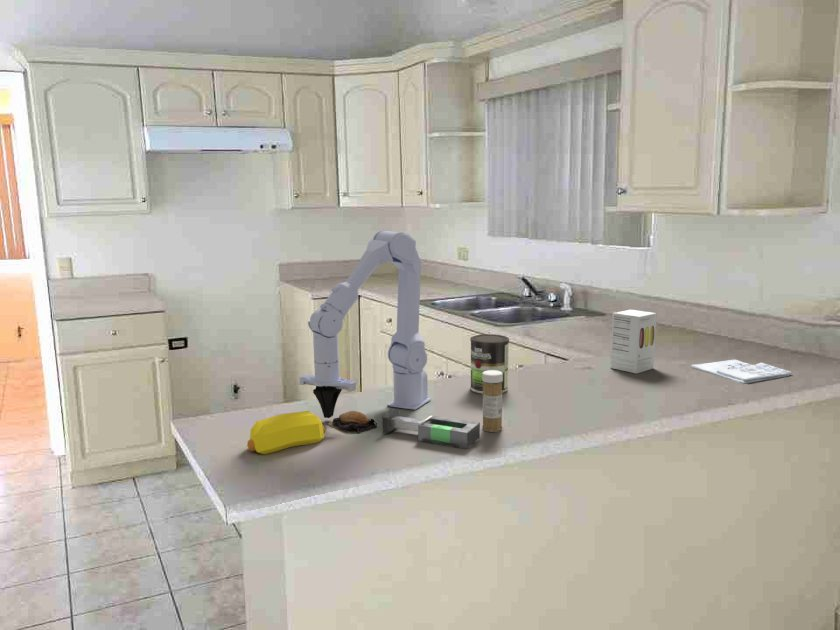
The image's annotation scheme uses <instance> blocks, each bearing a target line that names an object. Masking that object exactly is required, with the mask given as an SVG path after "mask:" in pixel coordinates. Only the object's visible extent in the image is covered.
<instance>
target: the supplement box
mask: <svg viewBox="0 0 840 630" xmlns="http://www.w3.org/2000/svg"><path fill="white" fill-rule="evenodd" d="M656 328H657V313H656V312H653V311H652V312H651V311H643V310H639V309H638V310H636V309H627V310H621V311H617V312H613V313H612V319H611V341H610V342H611V343H610V344H611V347H610V368H609V369H615V370H618V371H622V372H628V373H632V374H635V375H636V374H640V373H644V372H646V371H649V370H652V369H654V363H655V346H656V345H655V344H656V342H655V341H656V331H657V330H656Z"/></svg>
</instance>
